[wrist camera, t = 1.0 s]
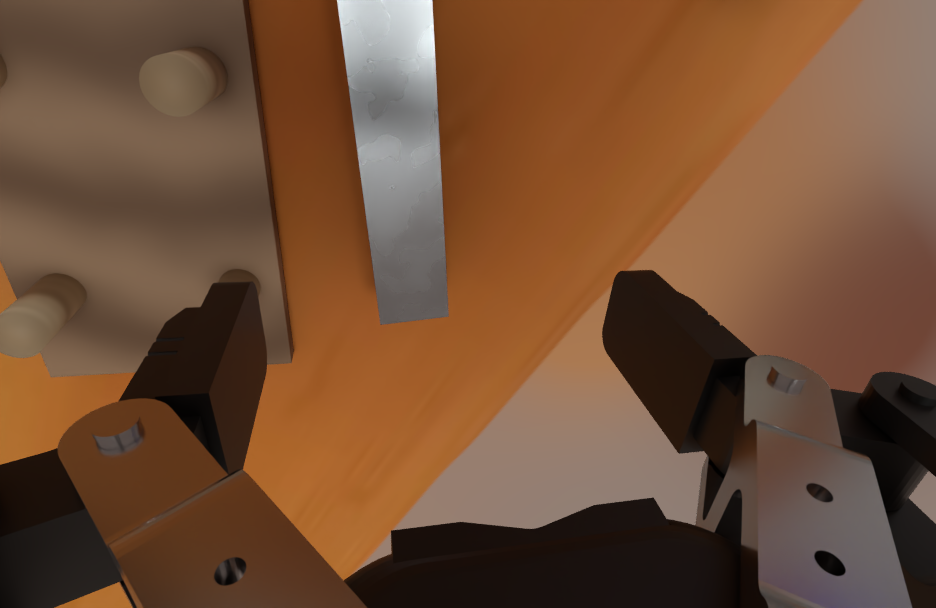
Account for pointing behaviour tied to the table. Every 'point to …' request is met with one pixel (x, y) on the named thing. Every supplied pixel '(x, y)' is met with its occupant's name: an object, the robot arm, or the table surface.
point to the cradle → (130, 176)
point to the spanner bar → (398, 151)
